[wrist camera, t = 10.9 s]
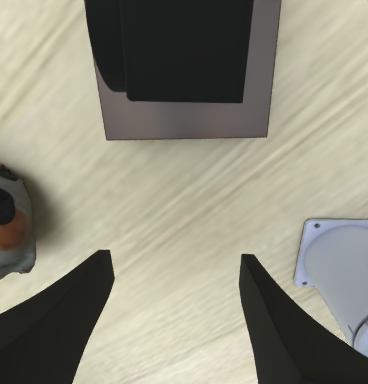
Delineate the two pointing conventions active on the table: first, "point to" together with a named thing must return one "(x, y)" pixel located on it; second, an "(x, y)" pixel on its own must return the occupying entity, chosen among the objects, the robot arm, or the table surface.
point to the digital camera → (172, 48)
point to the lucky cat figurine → (15, 226)
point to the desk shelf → (204, 112)
